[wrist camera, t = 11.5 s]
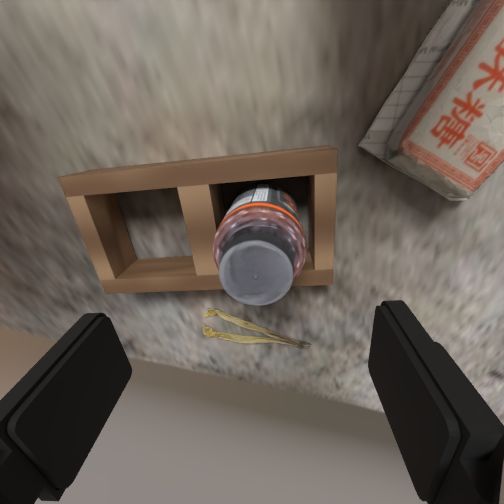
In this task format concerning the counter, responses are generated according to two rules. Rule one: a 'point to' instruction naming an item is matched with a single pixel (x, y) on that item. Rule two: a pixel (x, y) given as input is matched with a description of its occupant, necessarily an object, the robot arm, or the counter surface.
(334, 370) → the counter surface
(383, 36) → the counter surface
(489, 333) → the counter surface
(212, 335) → the tongs
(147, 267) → the rack
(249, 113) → the counter surface
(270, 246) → the supplement bottle
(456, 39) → the packaged product
